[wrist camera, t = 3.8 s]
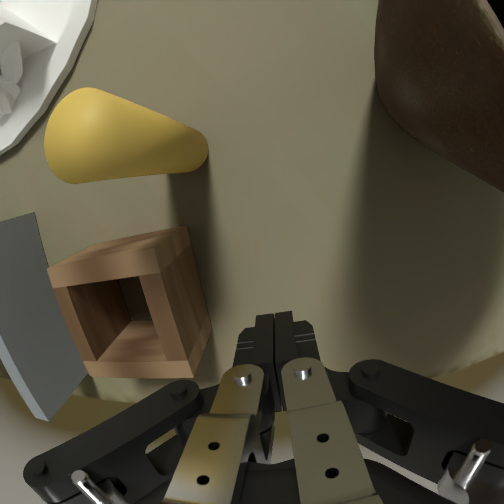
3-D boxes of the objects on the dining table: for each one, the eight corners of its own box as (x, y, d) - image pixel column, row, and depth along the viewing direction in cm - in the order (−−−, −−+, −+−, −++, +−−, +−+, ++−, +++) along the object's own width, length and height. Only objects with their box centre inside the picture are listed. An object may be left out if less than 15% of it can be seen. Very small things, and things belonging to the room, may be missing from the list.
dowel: (203, 123, 18) (112, 72, 7) (211, 166, 19) (126, 168, 8) (161, 134, 19) (40, 109, 7) (169, 176, 19) (51, 194, 8)
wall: (34, 212, 21) (-33, 232, 13) (89, 370, 25) (49, 421, 17) (21, 217, 21) (-43, 238, 13) (76, 370, 25) (35, 417, 17)
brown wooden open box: (186, 225, 20) (154, 247, 14) (212, 328, 22) (193, 377, 17) (94, 244, 21) (46, 268, 15) (123, 335, 23) (90, 376, 17)
